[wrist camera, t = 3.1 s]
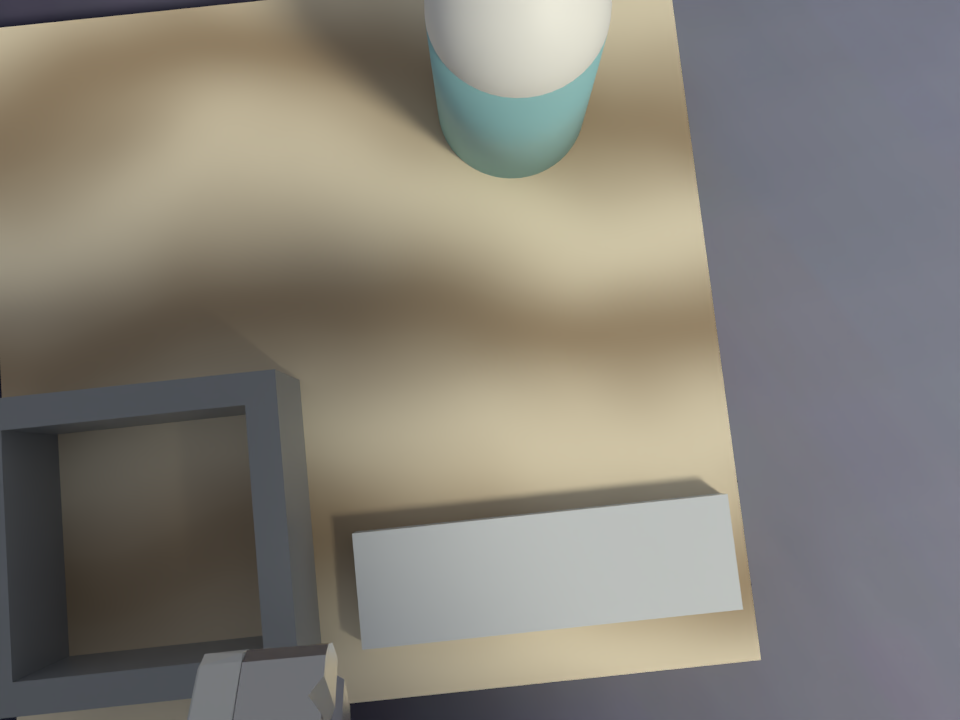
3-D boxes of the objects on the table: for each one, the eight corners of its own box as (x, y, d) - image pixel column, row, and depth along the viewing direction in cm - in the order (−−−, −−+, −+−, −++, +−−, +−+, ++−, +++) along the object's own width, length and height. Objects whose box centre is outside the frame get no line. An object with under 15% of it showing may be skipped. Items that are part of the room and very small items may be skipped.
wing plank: (720, 493, 25) (727, 494, 24) (734, 604, 25) (742, 609, 24) (356, 531, 25) (352, 533, 24) (366, 643, 25) (362, 649, 24)
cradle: (322, 659, 25) (300, 686, 22) (41, 689, 25) (-20, 721, 22) (299, 380, 26) (275, 368, 23) (27, 408, 26) (-34, 401, 23)
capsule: (592, 170, 26) (636, 45, 18) (445, 185, 26) (427, 66, 18) (575, 30, 27) (611, -150, 19) (431, 45, 27) (407, -129, 19)
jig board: (745, 648, 26) (760, 659, 25) (44, 723, 26) (17, 739, 25) (656, -15, 28) (666, -42, 27) (11, 51, 28) (-16, 29, 27)
